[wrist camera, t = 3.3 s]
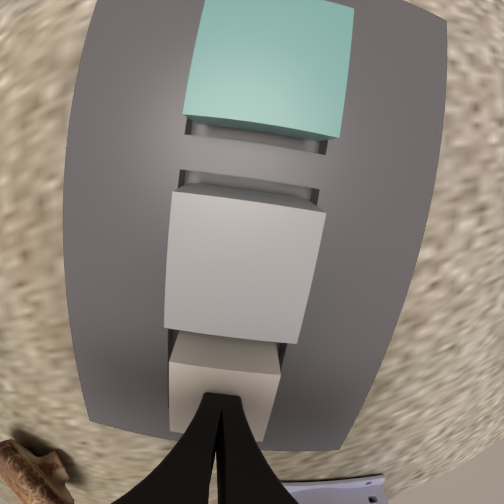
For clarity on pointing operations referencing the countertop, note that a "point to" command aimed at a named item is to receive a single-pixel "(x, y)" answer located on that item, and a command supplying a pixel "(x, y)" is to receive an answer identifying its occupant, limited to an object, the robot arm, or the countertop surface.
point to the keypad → (255, 179)
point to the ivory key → (222, 377)
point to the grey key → (240, 262)
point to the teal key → (271, 67)
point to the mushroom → (34, 475)
